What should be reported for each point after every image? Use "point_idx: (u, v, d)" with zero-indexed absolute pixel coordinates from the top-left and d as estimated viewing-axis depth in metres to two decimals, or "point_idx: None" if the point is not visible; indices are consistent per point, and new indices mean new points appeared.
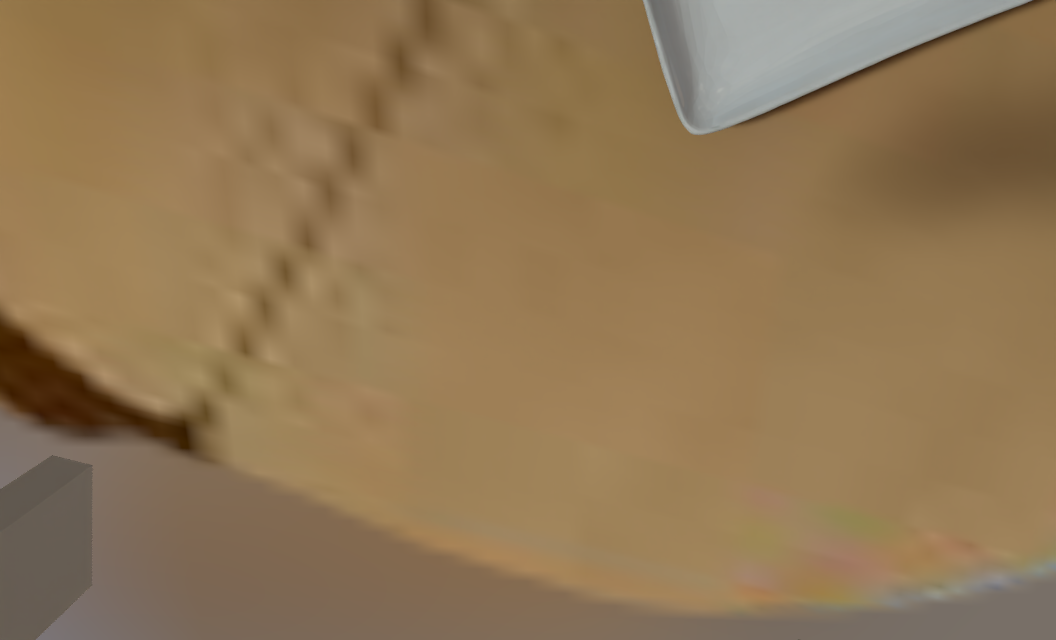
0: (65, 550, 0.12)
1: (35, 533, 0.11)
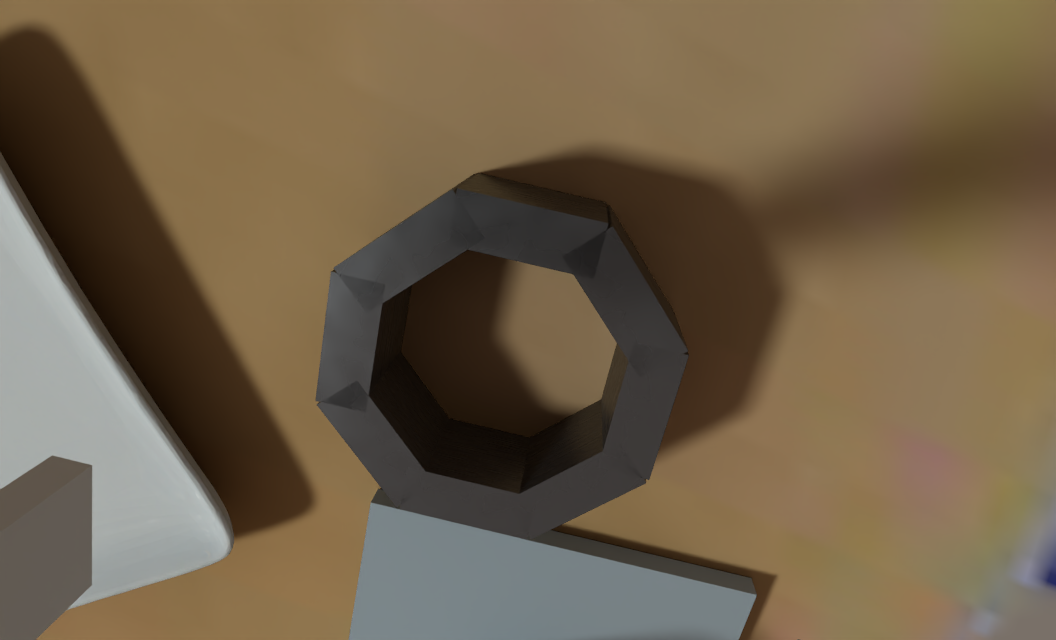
0: (65, 550, 0.12)
1: (35, 533, 0.11)
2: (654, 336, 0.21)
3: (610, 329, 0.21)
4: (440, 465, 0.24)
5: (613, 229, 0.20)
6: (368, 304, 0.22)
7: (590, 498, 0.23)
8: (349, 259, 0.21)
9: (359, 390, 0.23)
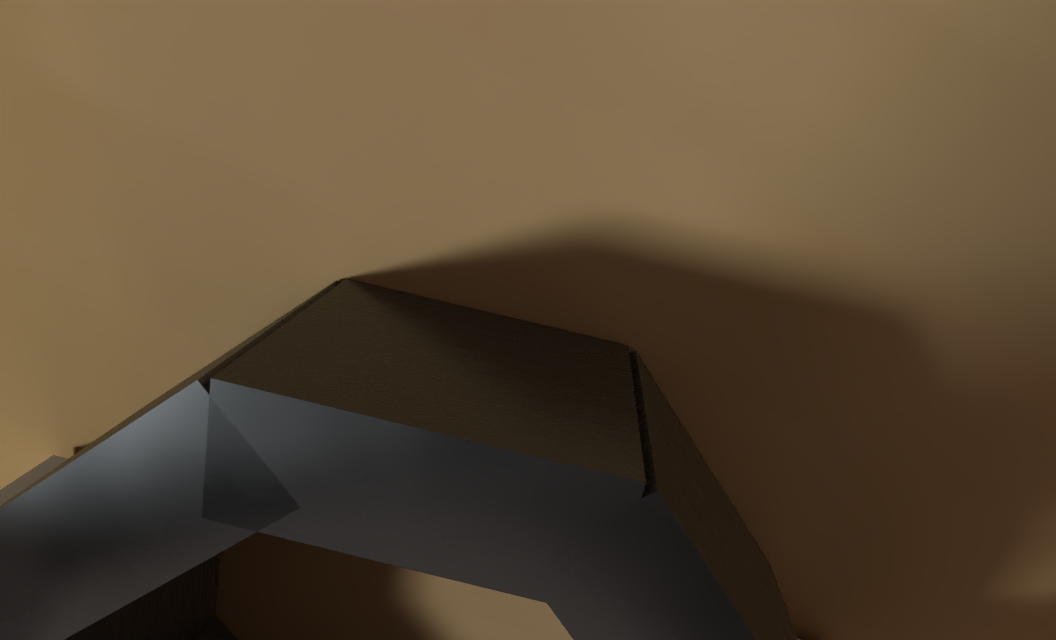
0: None
1: None
2: None
3: None
4: None
5: (660, 497, 0.07)
6: None
7: None
8: None
9: None
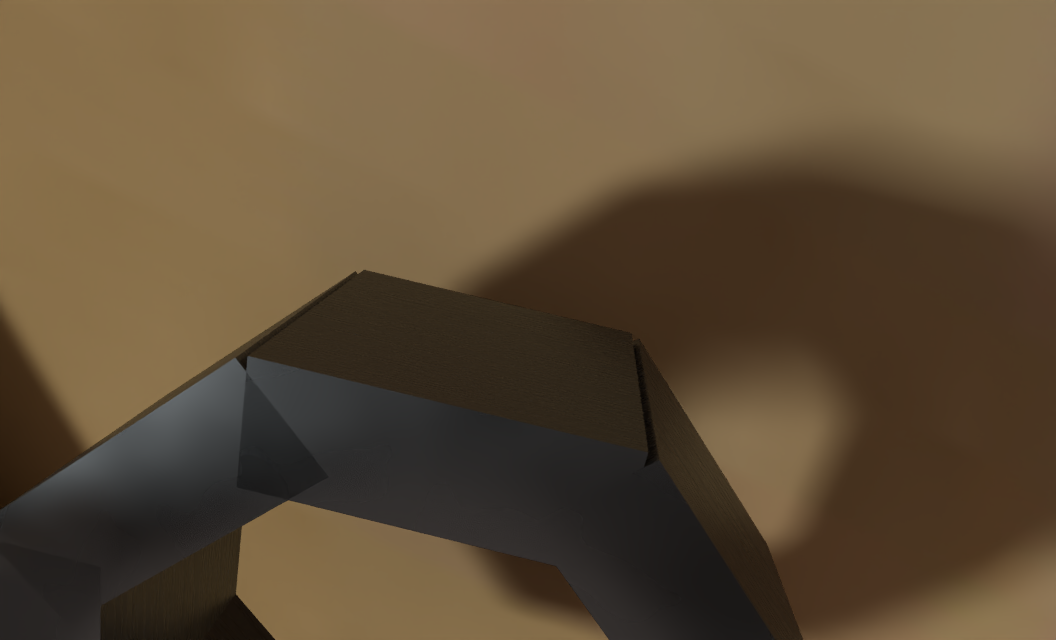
0: None
1: None
2: None
3: None
4: None
5: (661, 466, 0.08)
6: (69, 606, 0.09)
7: None
8: (8, 510, 0.09)
9: None
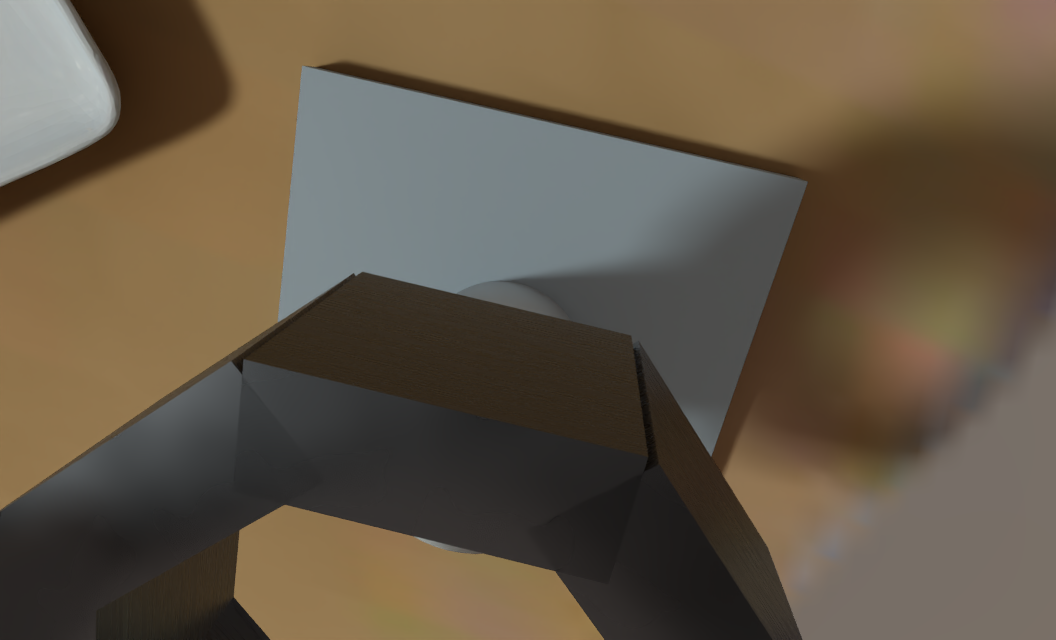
0: None
1: None
2: None
3: None
4: None
5: (661, 470, 0.07)
6: (64, 611, 0.09)
7: None
8: (3, 514, 0.09)
9: None
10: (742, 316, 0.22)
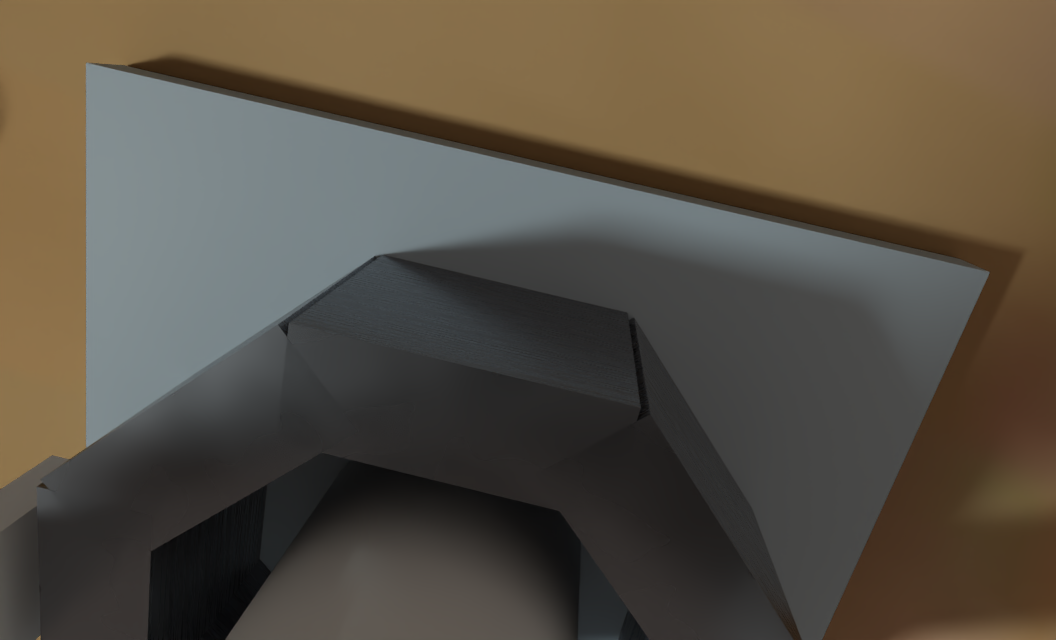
0: None
1: (36, 533, 0.11)
2: None
3: (641, 622, 0.10)
4: None
5: (652, 420, 0.09)
6: (122, 552, 0.10)
7: None
8: (71, 464, 0.10)
9: None
10: (857, 493, 0.13)
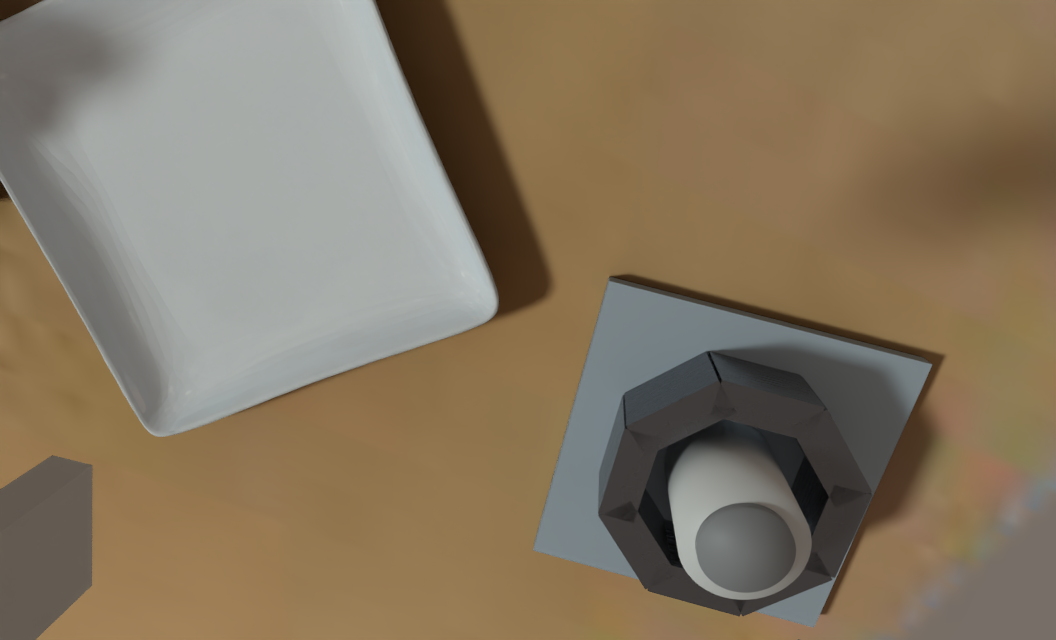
0: (65, 550, 0.12)
1: (36, 533, 0.11)
2: (849, 481, 0.30)
3: (818, 475, 0.31)
4: (677, 560, 0.33)
5: (827, 411, 0.30)
6: (647, 451, 0.31)
7: (790, 589, 0.32)
8: (638, 421, 0.31)
9: (631, 507, 0.32)
10: (883, 445, 0.34)
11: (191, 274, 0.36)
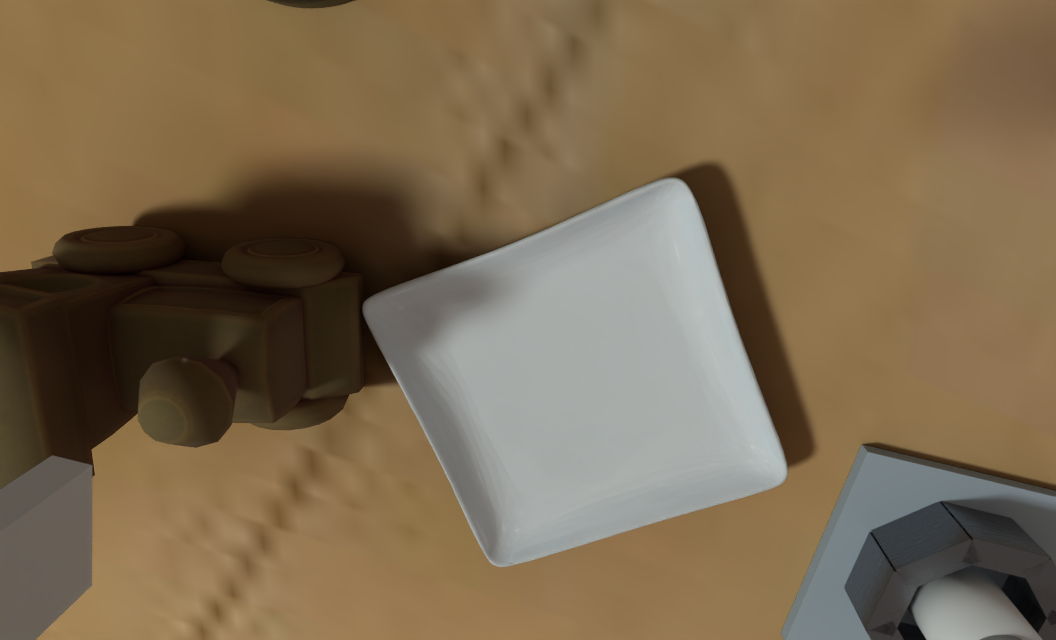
0: (65, 550, 0.12)
1: (35, 533, 0.11)
2: None
3: (1040, 603, 0.41)
4: None
5: (1051, 559, 0.40)
6: (910, 586, 0.42)
7: None
8: (905, 566, 0.41)
9: (892, 625, 0.43)
10: None
11: (527, 443, 0.46)
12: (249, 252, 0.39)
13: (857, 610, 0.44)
